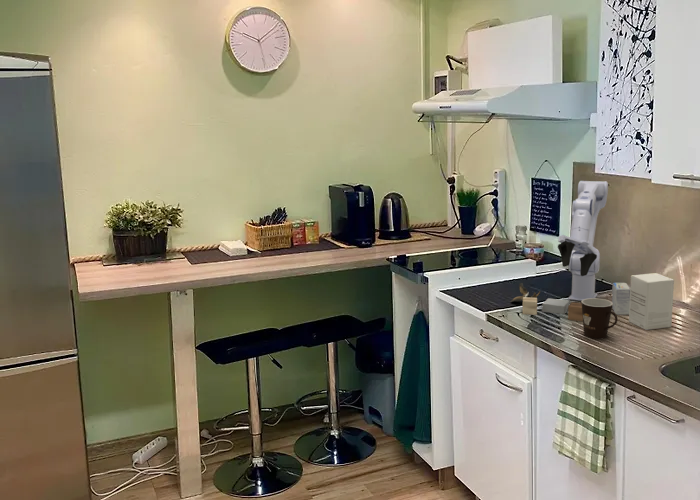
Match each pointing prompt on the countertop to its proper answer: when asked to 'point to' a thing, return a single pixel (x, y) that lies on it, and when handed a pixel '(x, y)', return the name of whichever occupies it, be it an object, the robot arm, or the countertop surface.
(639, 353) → the countertop surface
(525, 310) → the birch cube
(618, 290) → the medicine box
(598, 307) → the coffee mug
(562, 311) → the slate block
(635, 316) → the supplement box
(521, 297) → the eagle figurine
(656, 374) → the countertop surface
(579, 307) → the walnut cube
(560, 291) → the countertop surface
